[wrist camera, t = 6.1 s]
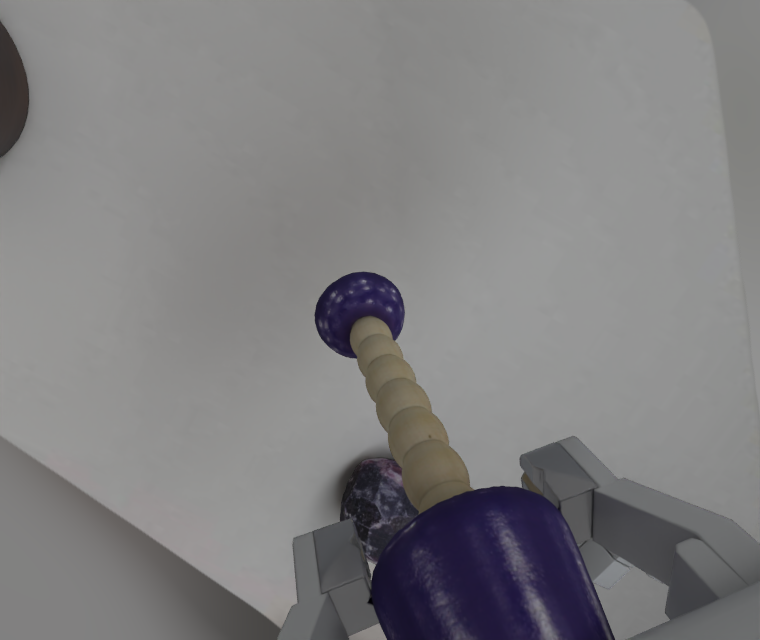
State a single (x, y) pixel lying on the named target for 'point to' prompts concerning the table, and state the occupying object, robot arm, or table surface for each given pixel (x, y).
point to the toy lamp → (454, 508)
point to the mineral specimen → (377, 504)
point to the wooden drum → (11, 92)
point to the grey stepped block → (604, 564)
